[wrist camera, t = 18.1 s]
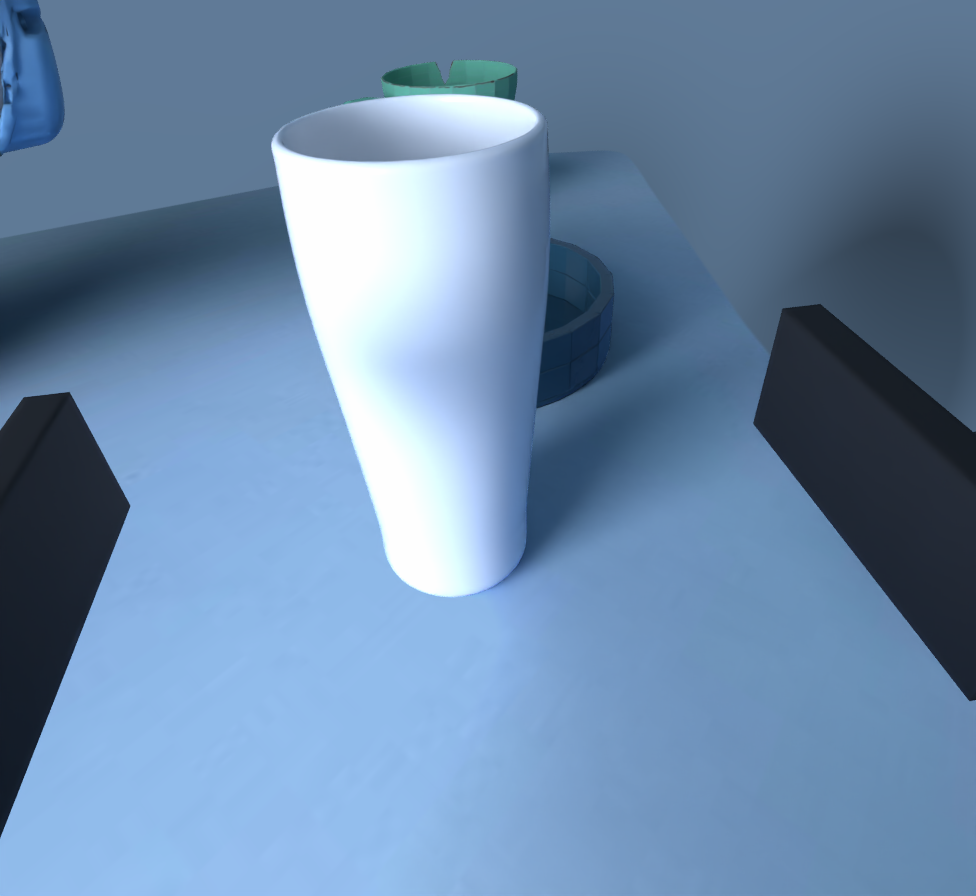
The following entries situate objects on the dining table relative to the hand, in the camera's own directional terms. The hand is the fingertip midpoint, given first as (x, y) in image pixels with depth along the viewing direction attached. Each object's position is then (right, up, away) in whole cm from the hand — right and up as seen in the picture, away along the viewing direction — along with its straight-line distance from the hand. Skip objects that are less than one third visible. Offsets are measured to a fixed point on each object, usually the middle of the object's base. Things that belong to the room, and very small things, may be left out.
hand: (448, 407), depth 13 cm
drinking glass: (0, -5, +13) cm, 13 cm away
